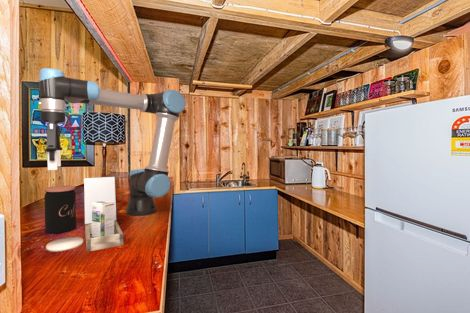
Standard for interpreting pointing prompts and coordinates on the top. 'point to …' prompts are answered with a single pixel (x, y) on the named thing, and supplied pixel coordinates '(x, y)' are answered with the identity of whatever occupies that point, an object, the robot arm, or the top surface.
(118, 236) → the box
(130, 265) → the top surface
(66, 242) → the saucer
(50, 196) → the coffee jar
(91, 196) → the lid
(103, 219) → the syrup box
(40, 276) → the top surface
